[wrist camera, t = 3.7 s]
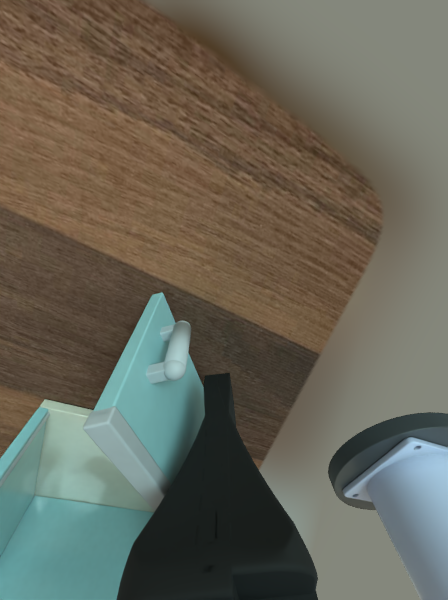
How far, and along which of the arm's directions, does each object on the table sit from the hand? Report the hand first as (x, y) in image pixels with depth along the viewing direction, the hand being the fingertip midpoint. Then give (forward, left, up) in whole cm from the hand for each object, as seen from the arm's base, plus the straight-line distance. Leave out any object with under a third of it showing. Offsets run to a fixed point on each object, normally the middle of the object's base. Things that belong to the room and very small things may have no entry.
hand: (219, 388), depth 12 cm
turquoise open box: (+3, +14, -3) cm, 14 cm away
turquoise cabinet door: (0, +2, -2) cm, 3 cm away
